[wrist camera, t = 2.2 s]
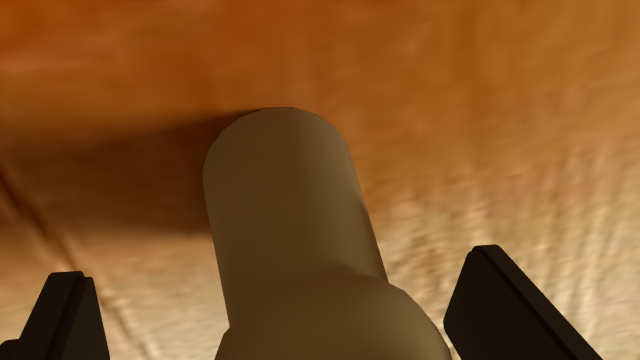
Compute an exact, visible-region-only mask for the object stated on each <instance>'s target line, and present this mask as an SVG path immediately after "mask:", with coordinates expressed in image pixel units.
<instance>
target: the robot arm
mask: <svg viewBox="0 0 640 360" xmlns="http://www.w3.org/2000/svg"><path fill="white" fill-rule="evenodd" d="M443 325H444V330H445V332H446V334H447V336H448V337H449V339H450V341H451V343H452V344H453V346H454V348H455V349H456V351H457V353H458V355H459V356H460V358H461V360H603V359H602V358H601V357H600V356H599V355H598V354H597V353H596V352H595V350H594V349H593V348H592V347H591V346H590V345H589V344H588V343H587V342H586V341H585V339H584V338H583V337H582V336H581V335H580V334H579V333H578V332H577V331H576V330H575V328H574V327H573V326H572V325H571V324H570V323H569V322H568V321H567V320H566V319H565V317H564V316H563V315H562V314H561V313H560V312H559V311H558V310H557V309H556V308H555V307H554V305H553V304H552V303H551V302H550V301H549V300H548V299H547V298H546V297H545V296H544V294H543V293H542V292H541V291H540V290H539V289H538V288H537V287H536V286H535V285H534V283H533V282H532V281H531V280H530V279H529V278H528V277H527V276H526V275H525V274H524V272H523V271H522V270H521V269H520V268H519V267H518V266H517V265H516V264H515V263H514V261H513V260H512V259H511V258H510V257H509V256H508V255H507V254H506V253H505V252H504V250H503V249H502V248H501V247H499V246H498V245H480V246H475V247H474V248H473V249H472V251H471V252H469V253H468V254H467V257H466V259H465V262H464V265H463V267H462V270H461V273H460V276H459V278H458V281H457V284H456V287H455V289H454V292H453V295H452V297H451V300H450V303H449V306H448V308H447V311H446V314H445V316H444V320H443ZM0 360H110V355H109V350H108V346H107V341H106V336H105V332H104V327H103V322H102V318H101V313H100V308H99V304H98V299H97V294H96V290H95V285H94V281H93V278H92V277H84V274H83V272H82V271H71V272H56V273H51V274H50V275H49V276H48V278H47V280H46V282H45V284H44V287H43V289H42V291H41V293H40V295H39V297H38V299H37V301H36V304H35V306H34V308H33V310H32V312H31V314H30V316H29V319H28V321H27V323H26V325H25V327H24V329H23V331H22V333H21V336H20V338H19V339H13V340H7V341H4V342H3V343H2V344H1V345H0Z"/></svg>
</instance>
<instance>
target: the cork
mask: <svg viewBox="0 0 640 360" xmlns="http://www.w3.org/2000/svg"><path fill="white" fill-rule="evenodd" d="M202 180H203V189H204V196H205V202H206V207H207V212H208V217H209V222H210V227H211V233H212V238H213V243H214V248H215V253H216V258H217V263H218V269H219V274H220V279H221V284H222V289H223V294H224V300H225V305H226V310H227V315H228V320H229V325H230V328H229V329H228V330H227V331H226V332H225V333H224V335H223V337H222V340H221V343H220V346H219V348H218V351H217V354H216V357H215V360H452V357H451V353H450V349H449V348H448V346H447V344H446V342H445V341H444V339H443V337H442V336H441V334H440V332H439V330H438V329H437V327H436V326H435V324H434V323H433V322H432V321H431V319H430V318H429V317H428V316H427V315H426V313H425V312H424V311H423V310H422V308H421V307H420V306H419V305H418V304H417V303H416V302H415V301H414V300H413V299H412V298H411V297H410V296H409V295H408V294H407V293H406V292H405V291H403V290H401V289H399V288H397V287H395V286H394V285H392V284H390V283H389V282H388V279H387V275H386V272H385V269H384V265H383V262H382V259H381V255H380V252H379V249H378V245H377V242H376V239H375V235H374V232H373V229H372V225H371V222H370V219H369V215H368V212H367V209H366V205H365V202H364V199H363V195H362V192H361V189H360V185H359V182H358V179H357V175H356V172H355V169H354V165H353V162H352V159H351V155H350V152H349V149H348V145H347V143H346V142H345V141H344V139H343V138H342V136H341V135H340V134H339V132H338V131H337V129H336V128H335V127H334V126H333V125H331V124H330V123H328V122H327V121H325V120H324V119H322V118H321V117H320V116H318V115H317V114H314V113H310V112H307V111H304V110H300V109H297V108H293V107H286V108H265V109H262V110H259V111H256V112H253V113H250V114H247V115H245V116H242V117H240V118H239V119H238V120H236V121H235V122H234V123H232V124H231V125H229V126H228V127H227V128H225V129H224V130H223V131H221V133H220V134H219V135H218V137H217V138H216V140H215V141H214V143H213V144H212V145H211V147H210V148H209V150H208V151H207V155H206V159H205V162H204V166H203V170H202Z"/></svg>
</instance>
